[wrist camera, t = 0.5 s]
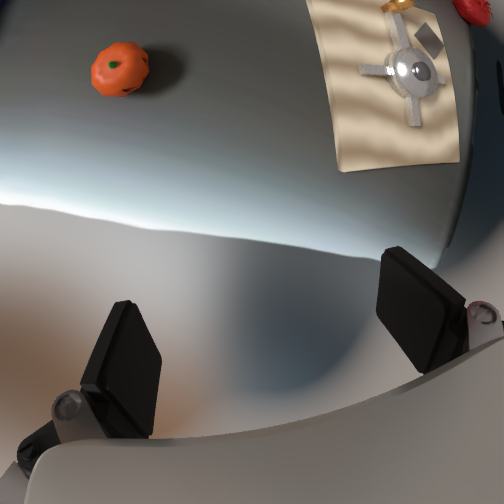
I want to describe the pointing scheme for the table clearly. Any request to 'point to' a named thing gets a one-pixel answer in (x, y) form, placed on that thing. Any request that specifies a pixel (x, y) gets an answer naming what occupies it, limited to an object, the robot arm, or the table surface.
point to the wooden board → (381, 88)
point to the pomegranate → (474, 11)
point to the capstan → (405, 64)
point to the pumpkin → (120, 69)
